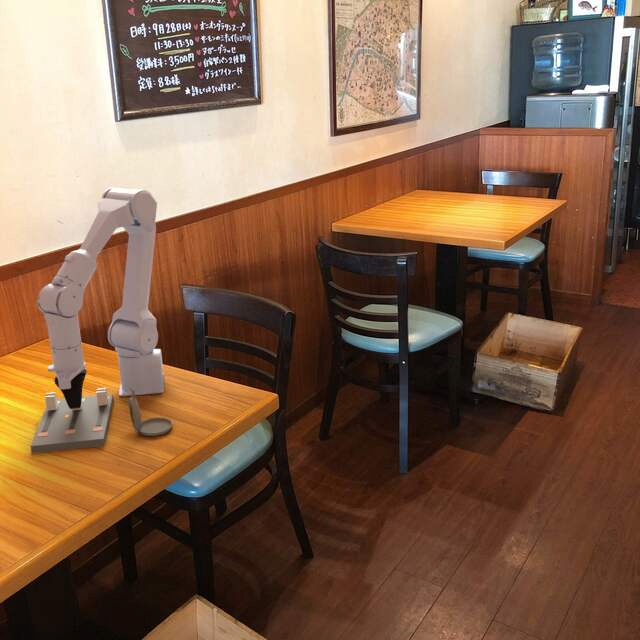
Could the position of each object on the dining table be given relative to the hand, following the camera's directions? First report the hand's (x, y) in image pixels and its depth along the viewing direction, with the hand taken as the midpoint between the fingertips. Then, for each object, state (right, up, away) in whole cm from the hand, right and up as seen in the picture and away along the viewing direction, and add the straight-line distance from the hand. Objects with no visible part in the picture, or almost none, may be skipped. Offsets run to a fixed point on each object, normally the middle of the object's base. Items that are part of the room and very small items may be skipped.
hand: (75, 407), depth 138 cm
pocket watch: (+16, -4, -3) cm, 17 cm away
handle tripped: (0, 0, +2) cm, 3 cm away
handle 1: (-6, 0, +2) cm, 6 cm away
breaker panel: (0, -3, -1) cm, 4 cm away
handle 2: (+4, 0, +4) cm, 6 cm away
